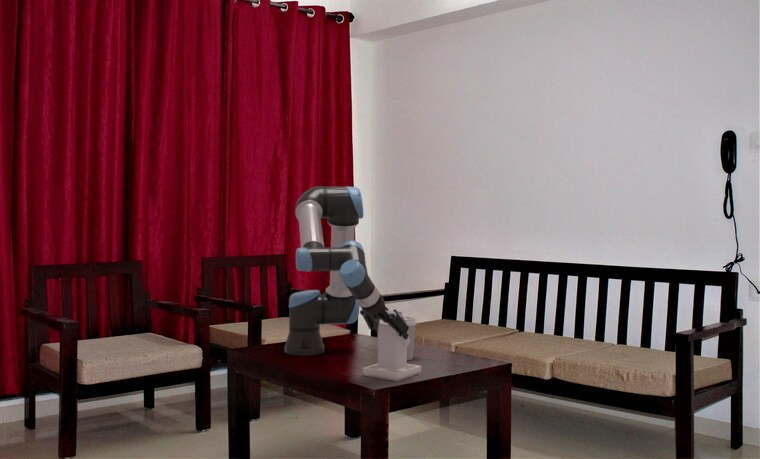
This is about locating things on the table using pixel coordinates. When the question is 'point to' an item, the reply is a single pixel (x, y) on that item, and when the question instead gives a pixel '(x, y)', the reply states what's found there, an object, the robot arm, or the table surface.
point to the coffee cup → (410, 335)
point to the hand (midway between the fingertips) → (398, 342)
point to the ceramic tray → (392, 372)
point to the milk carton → (390, 347)
